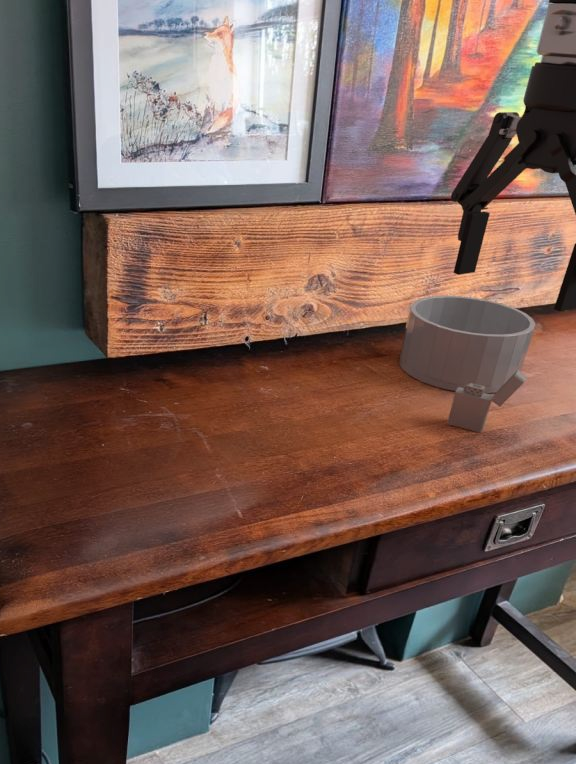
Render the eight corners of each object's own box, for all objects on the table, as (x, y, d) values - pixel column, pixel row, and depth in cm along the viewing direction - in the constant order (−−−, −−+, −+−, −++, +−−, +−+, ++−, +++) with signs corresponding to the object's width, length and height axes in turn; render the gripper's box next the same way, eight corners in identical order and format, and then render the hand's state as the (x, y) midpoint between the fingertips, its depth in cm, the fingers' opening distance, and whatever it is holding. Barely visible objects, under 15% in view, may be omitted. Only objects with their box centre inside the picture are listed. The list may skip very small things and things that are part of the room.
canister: (535, 370, 107) (552, 316, 103) (490, 404, 97) (507, 346, 92) (430, 339, 116) (442, 288, 111) (378, 368, 105) (389, 312, 101)
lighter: (446, 423, 91) (462, 362, 87) (450, 418, 92) (466, 357, 88) (506, 439, 88) (526, 376, 84) (509, 433, 90) (528, 372, 85)
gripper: (447, 52, 76) (405, 263, 88) (683, 71, 58) (591, 332, 70) (497, 54, 79) (450, 256, 91) (735, 73, 62) (638, 321, 74)
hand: (511, 290), depth 81 cm, fingers open, 13 cm apart
